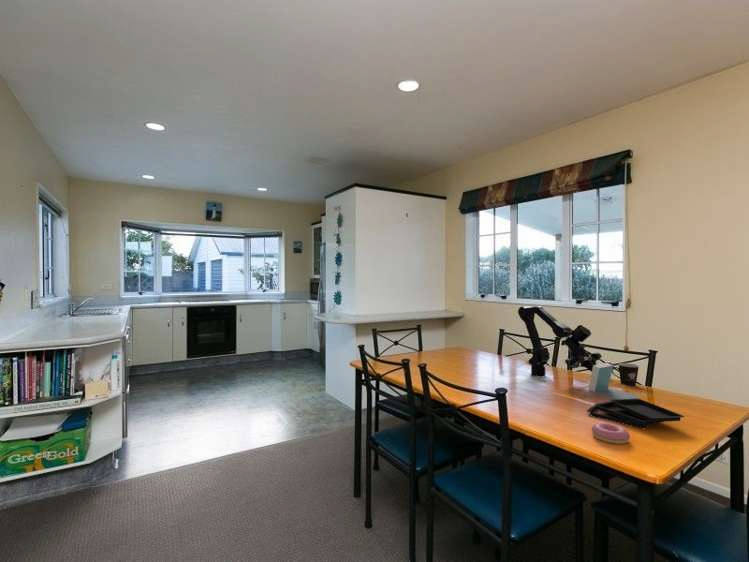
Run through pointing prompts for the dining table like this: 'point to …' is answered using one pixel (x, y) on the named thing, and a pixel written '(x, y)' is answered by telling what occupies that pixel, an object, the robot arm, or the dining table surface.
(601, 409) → the tray
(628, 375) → the coffee mug
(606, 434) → the doughnut
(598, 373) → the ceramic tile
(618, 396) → the slate board
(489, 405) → the dining table surface
